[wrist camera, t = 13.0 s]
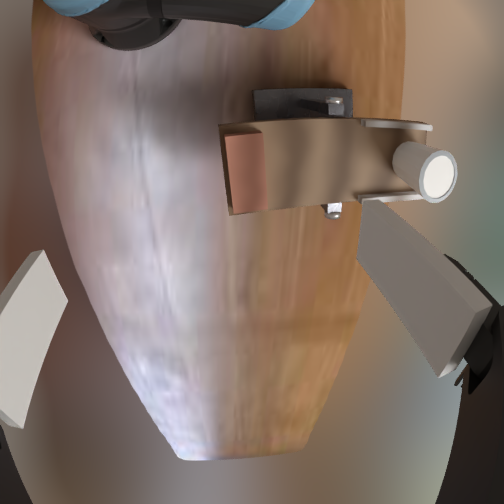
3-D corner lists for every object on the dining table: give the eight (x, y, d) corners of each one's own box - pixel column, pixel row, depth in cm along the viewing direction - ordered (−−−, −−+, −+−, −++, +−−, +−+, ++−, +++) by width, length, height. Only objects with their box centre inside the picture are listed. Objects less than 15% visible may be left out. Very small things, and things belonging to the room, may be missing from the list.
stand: (260, 196, 49) (278, 232, 38) (252, 90, 40) (270, 91, 29) (347, 187, 51) (383, 218, 40) (348, 89, 41) (392, 94, 30)
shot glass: (407, 192, 37) (436, 213, 32) (379, 165, 35) (410, 183, 29) (432, 157, 35) (464, 173, 29) (407, 126, 32) (441, 138, 26)
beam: (227, 207, 38) (230, 222, 34) (217, 123, 32) (219, 128, 28) (409, 189, 40) (426, 200, 36) (415, 120, 34) (435, 126, 31)
